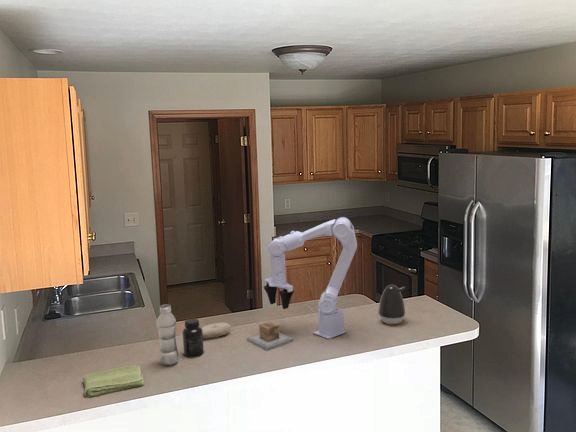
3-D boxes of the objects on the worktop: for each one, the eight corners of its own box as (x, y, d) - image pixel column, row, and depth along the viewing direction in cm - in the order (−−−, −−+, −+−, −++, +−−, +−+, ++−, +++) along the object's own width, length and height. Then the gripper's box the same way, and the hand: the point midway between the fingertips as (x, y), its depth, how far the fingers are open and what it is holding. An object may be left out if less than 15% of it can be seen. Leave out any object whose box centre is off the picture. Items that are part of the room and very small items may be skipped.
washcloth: (146, 387, 166) (145, 377, 165) (85, 400, 159) (83, 390, 159) (139, 370, 178) (139, 361, 177) (82, 381, 171) (81, 372, 171)
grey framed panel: (272, 332, 206) (272, 329, 205) (293, 341, 197) (293, 338, 196) (247, 340, 198) (246, 337, 198) (267, 350, 189) (267, 347, 189)
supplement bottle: (184, 350, 192) (182, 318, 189) (204, 348, 192) (202, 316, 190) (182, 358, 185) (180, 325, 183) (203, 357, 185) (201, 323, 183)
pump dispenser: (408, 326, 207) (408, 288, 204) (380, 327, 207) (380, 289, 204) (402, 317, 217) (403, 280, 214) (376, 317, 217) (376, 281, 214)
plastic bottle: (162, 369, 177) (158, 311, 174) (157, 361, 183) (152, 305, 179) (181, 364, 180) (177, 307, 176) (175, 357, 186) (172, 301, 182)
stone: (235, 327, 204) (208, 327, 196) (228, 341, 205) (202, 341, 198) (227, 319, 208) (201, 318, 200) (221, 332, 210) (195, 332, 202)
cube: (270, 334, 200) (270, 321, 200) (279, 338, 197) (278, 325, 196) (259, 338, 197) (259, 325, 196) (268, 342, 194) (267, 328, 193)
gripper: (257, 269, 204) (259, 303, 207) (282, 277, 193) (283, 313, 196) (272, 265, 209) (273, 299, 211) (296, 273, 198) (297, 308, 200)
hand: (279, 305), depth 204 cm, fingers open, 7 cm apart
